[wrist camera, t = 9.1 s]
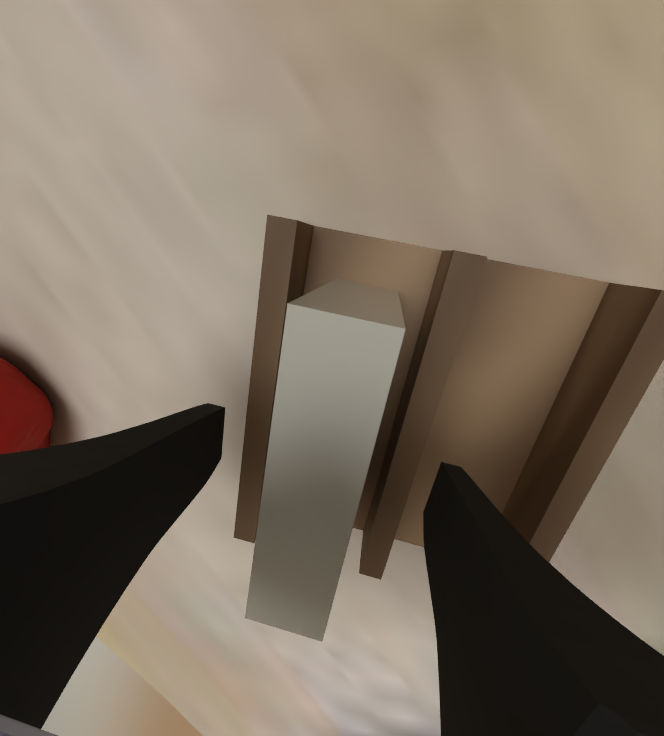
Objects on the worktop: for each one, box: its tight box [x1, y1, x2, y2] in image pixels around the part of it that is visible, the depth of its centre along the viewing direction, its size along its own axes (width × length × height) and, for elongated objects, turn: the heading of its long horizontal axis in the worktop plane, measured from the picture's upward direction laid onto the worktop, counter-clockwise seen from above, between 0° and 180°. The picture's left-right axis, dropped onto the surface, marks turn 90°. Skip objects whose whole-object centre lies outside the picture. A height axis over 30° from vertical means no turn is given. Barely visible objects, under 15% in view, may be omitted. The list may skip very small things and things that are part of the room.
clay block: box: [245, 279, 406, 641], centre depth 12 cm, size 2×10×7 cm, turn 170°
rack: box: [234, 215, 664, 579], centre depth 14 cm, size 13×14×4 cm
